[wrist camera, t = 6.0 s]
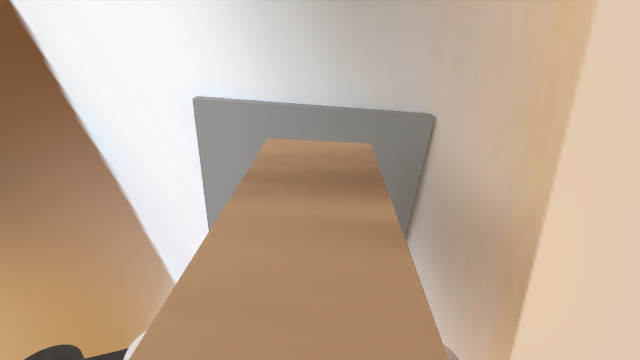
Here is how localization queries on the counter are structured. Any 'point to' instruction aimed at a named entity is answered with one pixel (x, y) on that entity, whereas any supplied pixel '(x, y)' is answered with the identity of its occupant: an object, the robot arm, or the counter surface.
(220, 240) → the light brown rectangular block
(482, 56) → the counter surface
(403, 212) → the mat
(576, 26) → the counter surface
